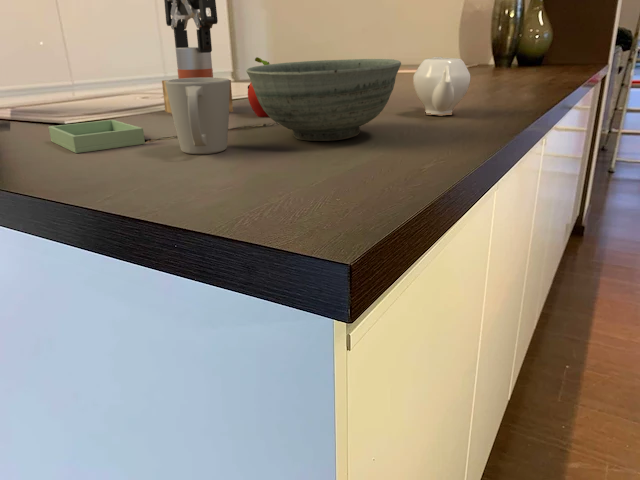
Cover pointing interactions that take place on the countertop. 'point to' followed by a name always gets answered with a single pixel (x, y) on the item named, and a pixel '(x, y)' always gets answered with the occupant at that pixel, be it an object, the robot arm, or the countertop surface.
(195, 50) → the can
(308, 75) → the bowl
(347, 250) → the countertop surface
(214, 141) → the cup
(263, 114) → the red bell pepper
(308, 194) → the countertop surface
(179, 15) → the robot arm
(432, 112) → the teapot
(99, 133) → the tray
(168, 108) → the holder
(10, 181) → the countertop surface
